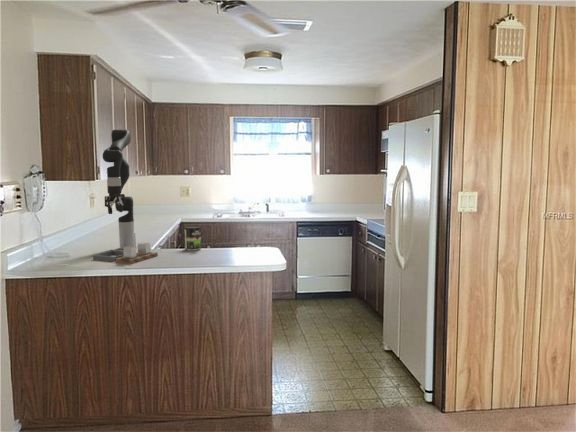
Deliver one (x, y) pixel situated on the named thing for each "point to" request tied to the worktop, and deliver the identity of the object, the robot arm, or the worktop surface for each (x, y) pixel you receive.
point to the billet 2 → (144, 248)
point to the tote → (108, 255)
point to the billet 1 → (129, 252)
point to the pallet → (139, 258)
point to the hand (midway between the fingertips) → (115, 212)
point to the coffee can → (192, 237)
